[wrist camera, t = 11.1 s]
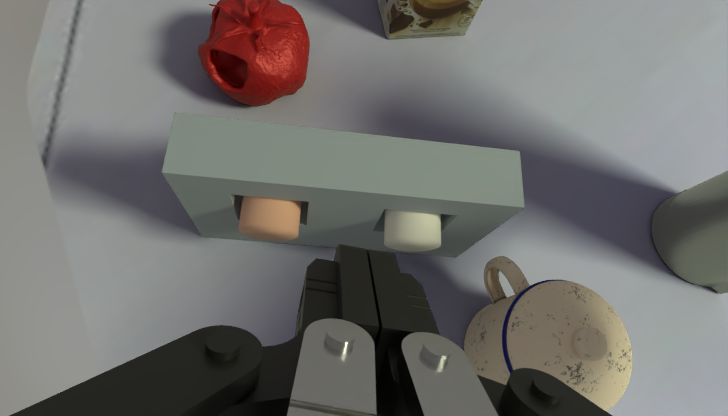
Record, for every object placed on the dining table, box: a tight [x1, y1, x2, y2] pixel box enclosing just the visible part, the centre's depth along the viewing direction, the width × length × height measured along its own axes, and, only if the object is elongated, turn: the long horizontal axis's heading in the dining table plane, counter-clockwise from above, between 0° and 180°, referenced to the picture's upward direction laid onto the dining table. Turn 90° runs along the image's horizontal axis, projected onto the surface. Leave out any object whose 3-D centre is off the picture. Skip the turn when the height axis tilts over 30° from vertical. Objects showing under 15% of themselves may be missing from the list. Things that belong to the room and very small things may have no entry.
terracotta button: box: [238, 196, 302, 241], centre depth 32 cm, size 7×4×4 cm, turn 178°
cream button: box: [384, 209, 441, 252], centre depth 34 cm, size 7×4×4 cm, turn 177°
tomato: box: [198, 0, 310, 106], centre depth 41 cm, size 10×10×9 cm
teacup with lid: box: [464, 256, 632, 411], centre depth 34 cm, size 12×9×12 cm
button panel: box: [162, 112, 525, 257], centre depth 35 cm, size 4×22×13 cm, turn 88°
